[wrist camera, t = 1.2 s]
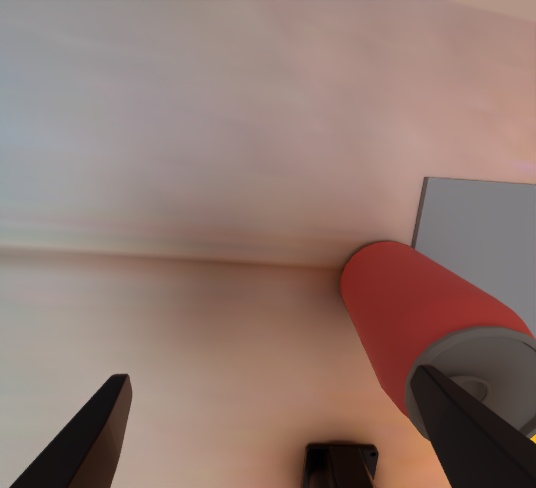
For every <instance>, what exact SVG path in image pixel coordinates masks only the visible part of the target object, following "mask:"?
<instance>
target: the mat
mask: <svg viewBox="0 0 536 488" xmlns="http://www.w3.org/2000/svg"><path fill="white" fill-rule="evenodd" d="M412 248H413V249H415V250H417V251H418V252H420V253H422V254H423V255H425V256H427V257H428V258H430V259H431V260H433V261H435V262H436V263H438V264H440V265H441V266H443V267H445V268H446V269H448V270H450V271H451V272H453V273H455V274H456V275H458V276H460V277H461V278H463V279H465V280H466V281H468V282H470V283H471V284H473V285H475V286H476V287H478V288H480V289H481V290H483V291H485V292H486V293H488V294H490V295H491V296H493V297H495V298H496V299H498V300H499V301H500V302H502V303H503V304H505V305H506V306H508V307H509V308H510V309H512V310H513V311H514V312H515V313H516V314H517V315H518V316H519V317H520V318H521V319H522V320H523V321H524V322H525V324H526V325H527V327H528V328H529V330H530V331H531V333H532V334H533V336H534V337H535V339H536V185H531V184H516V183H502V182H487V181H473V180H458V179H444V178H429V177H425V179H424V184H423V190H422V195H421V200H420V205H419V211H418V216H417V221H416V226H415V232H414V237H413V242H412Z"/></svg>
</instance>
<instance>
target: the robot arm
mask: <svg viewBox="0 0 536 488" xmlns="http://www.w3.org/2000/svg"><path fill="white" fill-rule="evenodd" d="M410 388H411V391H412V393H413V396H414V399H415V402H416V405H417V407H418V410H419V413H420V416H421V418H422V421H423V424H424V427H425V429H426V432H427V434H428V437H429V439H430V442H431V444H432V446H433V448H434V450H435V453H436V455H437V457H438V459H439V461H440V463H441V466H442V468H443V470H444V472H445V474H446V476H447V479H448V481H449V483H450V485H451V487H452V488H536V443H534V442H533V441H532V440H530V439H529V438H528V437H526V436H525V435H524V434H522V433H521V432H520V431H518V430H517V429H516V428H515V427H513V426H512V425H511V424H509V423H508V422H507V421H505V420H504V419H503V418H501V417H500V416H499V415H497V414H496V413H495V412H493V411H492V410H491V409H489V408H488V407H487V406H486V405H484V404H483V403H482V402H480V401H479V400H478V399H476V398H475V397H474V396H472V395H471V394H470V393H468V392H467V391H466V390H464V389H463V388H462V387H461V386H459V385H458V384H457V383H455V382H454V381H453V380H451V379H450V378H449V377H447V376H446V375H445V374H443V373H442V372H441V371H439V370H438V369H437V368H436V367H434V366H432V365H429V364H425V365H418V366H417V368H416V370H415V372H414V374H413V376H412V378H411V380H410ZM131 401H132V388H131V382H130V377H129V375H128V374H114V375H112V376H111V377H110V378H109V379H108V380H107V381H106V382H105V383H104V384H103V385H102V387H101V388H100V389H99V390H98V391H97V392H96V393H95V394H94V395H93V396H92V397H91V399H90V400H89V401H88V402H87V403H86V404H85V405H84V406H83V407H82V408H81V409H80V411H79V412H78V413H77V414H76V415H75V416H74V417H73V418H72V419H71V420H70V422H69V423H68V424H67V425H66V426H65V427H64V428H63V429H62V430H61V431H60V432H59V434H58V435H57V436H56V437H55V438H54V439H53V440H52V441H51V442H50V443H49V445H48V446H47V447H46V448H45V449H44V450H43V451H42V452H41V453H40V454H39V455H38V457H37V458H36V459H35V460H34V461H33V462H32V463H31V464H30V465H29V466H28V468H27V469H26V470H25V471H24V472H23V473H22V474H21V475H20V476H19V477H18V478H17V480H16V481H15V482H14V483H13V484H12V485H11V486H10V487H9V488H110V487H111V484H112V480H113V477H114V474H115V471H116V468H117V464H118V461H119V457H120V453H121V448H122V444H123V439H124V434H125V429H126V425H127V420H128V415H129V411H130V406H131ZM378 455H379V454H378V451H377V448H376V447H375V446H355V445H313V444H312V445H308V446H307V447H306V452H305V460H304V469H303V477H302V485H301V488H376V487H375V484H374V481H373V480H374V475H375V470H376V465H377V460H378Z"/></svg>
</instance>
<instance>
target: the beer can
mask: <svg viewBox="0 0 536 488" xmlns="http://www.w3.org/2000/svg"><path fill="white" fill-rule="evenodd" d="M340 291H341V294H342V297H343V300H344V303H345V305H346V308H347V310H348V312H349V315H350V317H351V319H352V321H353V324H354V326H355V328H356V330H357V333H358V335H359V337H360V339H361V342H362V344H363V346H364V349H365V351H366V353H367V355H368V358H369V360H370V362H371V364H372V367H373V369H374V371H375V374H376V376H377V378H378V380H379V383H380V385H381V387H382V388H383V390H384V391H385V392H386V393H387V395H388V396H389V397H390V398H391V400H392V401H393V402H394V403H395V405H396V406H397V407H398V408H399V409H400V411H401V412H402V413H403V414H404V415H405V416H407V417H408V418H409V419H410V421H411V422H412V423H413V425H414V426H415V427H416V428H417V430H418V431H419V432H420V433H421V435H422V436H423V437H424V438H426V439H428V440H429V441H430V439H429V437H428V434H427V432H426V429H425V427H424V424H423V421H422V418H421V416H420V413H419V410H418V407H417V405H416V402H415V399H414V396H413V393H412V391H411V388H410V380H411V378H412V376H413V374H414V372H415V370H416V368H417V366H418V365H425V364H429V365H432V366H434V367H436V368H437V369H438V370H439V371H441V372H442V373H443V374H445V375H446V376H447V377H449V378H450V379H451V380H453V381H454V382H455V383H457V384H458V385H459V386H461V387H462V388H463V389H464V390H466V391H467V392H468V393H470V394H471V395H472V396H474V397H475V398H476V399H478V400H479V401H480V402H482V403H483V404H484V405H486V406H487V407H488V408H489V409H491V410H492V411H493V412H495V413H496V414H497V415H499V416H500V417H501V418H503V419H504V420H505V421H507V422H508V423H509V424H511V425H512V426H513V427H515V428H516V429H517V430H518V431H520V432H521V433H522V434H524V435H525V436H526V437H528V438H529V439H530V438H532V437H533V436H534V435H535V434H536V339H535V337H534V336H533V334H532V333H531V331H530V330H529V328H528V327H527V325H526V324H525V322H524V321H523V320H522V319H521V318H520V317H519V316H518V315H517V314H516V313H515V312H514V311H513V310H512V309H510V308H509V307H508V306H506V305H505V304H503V303H502V302H500V301H499V300H498V299H496V298H495V297H493V296H491V295H490V294H488V293H486V292H485V291H483V290H481V289H480V288H478V287H476V286H475V285H473V284H471V283H470V282H468V281H466V280H465V279H463V278H461V277H460V276H458V275H456V274H455V273H453V272H451V271H450V270H448V269H446V268H445V267H443V266H441V265H440V264H438V263H436V262H435V261H433V260H431V259H430V258H428V257H427V256H425V255H423V254H422V253H420V252H418V251H417V250H415V249H413V248H412V247H410V246H408V245H405V244H401V243H398V242H378V243H375V244H372V245H369V246H366V247H365V248H363V249H362V250H360V251H359V252H357V253H356V254H354V255H353V257H352V258H351V259H350V261H349V262H348V263H347V264H346V266H345V268H344V271H343V274H342V276H341V290H340Z"/></svg>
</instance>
